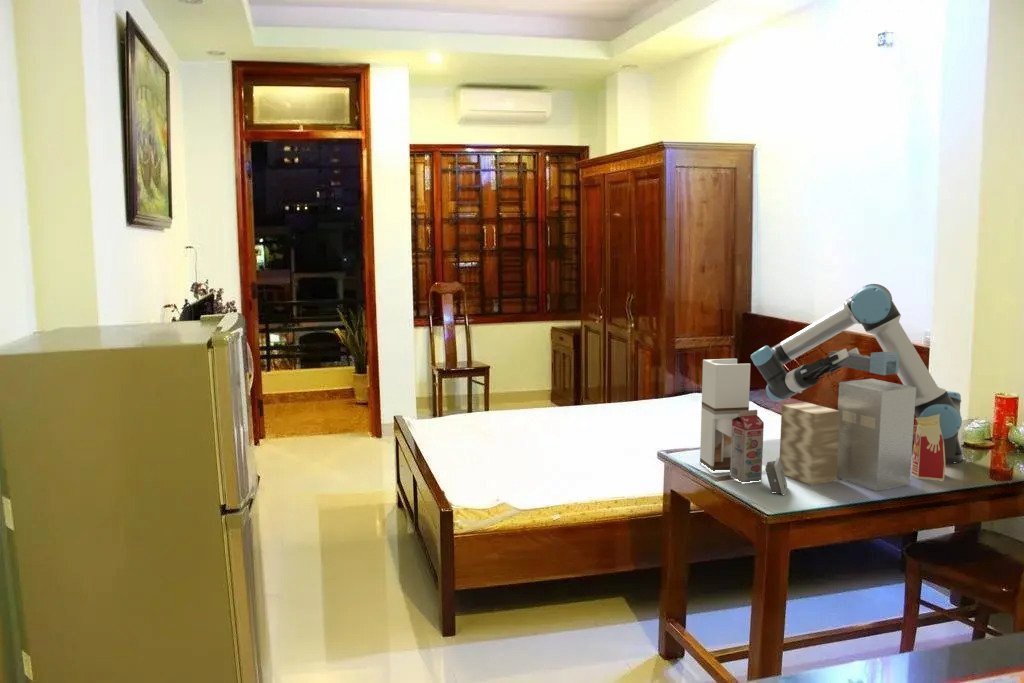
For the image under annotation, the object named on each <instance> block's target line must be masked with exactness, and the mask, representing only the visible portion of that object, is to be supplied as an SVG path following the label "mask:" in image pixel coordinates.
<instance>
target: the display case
mask: <svg viewBox="0 0 1024 683" xmlns="http://www.w3.org/2000/svg"><path fill="white" fill-rule="evenodd" d="M701 378H702V381H701V384H702V385H701V411H700V412H701V413H700V414H701V416H700V418H701V419H700V445H699V447H700V449H699V450H700V451H699V453H700V454H699V457H700V458H699V463H700V462H701V463H703V464H704V465H706V466H707V467H708V468H710V469H711V470H713V471H715V470H731V441H732V420H733V419H734V418H736V417H738V416H739V411H748V410H750V387H751V363H738V358H719V359H718V358H716V359H715V358H714V359H712V358H711V359H708V358H707V359H702V377H701Z"/></svg>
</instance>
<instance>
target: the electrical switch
mask: <svg viewBox="0 0 1024 683" xmlns="http://www.w3.org/2000/svg"><path fill="white" fill-rule="evenodd" d="M764 469H765V473H766V477H767V480H768V484H769V489H770V492H771V493H772V492H776V493H775V494H781V495H782V494H785V493H787V490H786V489H788V484H787V478H786V475H785V474H784V470H783V467H782V463H781V460H780V456H779V457H776V459H775V460H773V461H767V463H766V466H765V468H764ZM785 495H786V494H785Z"/></svg>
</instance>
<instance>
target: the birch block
mask: <svg viewBox="0 0 1024 683" xmlns="http://www.w3.org/2000/svg"><path fill="white" fill-rule="evenodd" d="M780 417H781V418H780V441H779V442H780V443H779V457H780V460H781V463H782V467H783V470H784V474H786V475H785V476H787V475H788V476H787V477H789V476H790V478H792V477H793V478H792V479H794V480H797V481H800V482H802V483H804V484H805V483H806V484H808V485H811V486H814V485H820V484H825V483H831V482H836V481H837V480H838V479H837V478H838V477H837V462H838V444H839V425H840V411H838V409H835V408H830V407H826V406H822V405H818V404H815V403H812V402H811V403H810V402H808V401H804V402H796V403H789V404H788V403H787V404H781V415H780Z"/></svg>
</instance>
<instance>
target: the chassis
mask: <svg viewBox="0 0 1024 683" xmlns="http://www.w3.org/2000/svg"><path fill="white" fill-rule="evenodd" d="M915 397H916V387H911V386H906V385H903V384H900V383H895V382H889V381H885V380H880V379H875V378H865V379H864V378H863V379H858V380H857V379H856V380H846V381H840V382H839V381H838V398H837V399H838V400H837V410H838V411H840V425H839V444H838V462H837V478H838V479H841V480H844V481H847V482H849V483H853V484H855V485H858V486H861V487H864V488H866V489H869V490H871V491H875V492H879V491H884V490H890V489H895V488H899V487H905V486H910V484H911V472H912V457H913V456H912V448H913V443H914V442H913V441H914V425H915V424H914V422H915V413H914V412H915Z"/></svg>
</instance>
